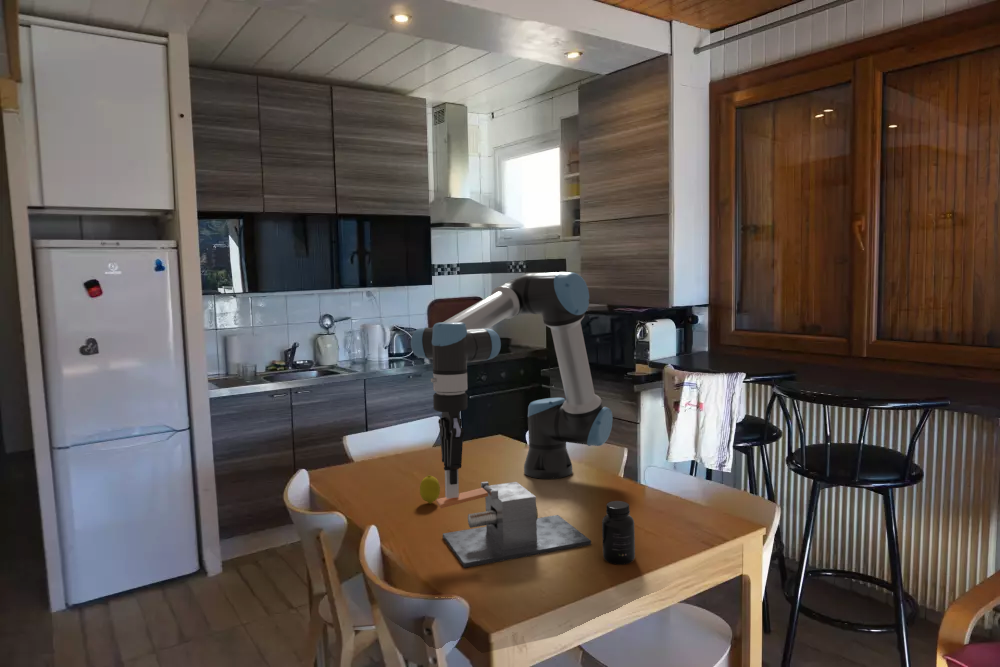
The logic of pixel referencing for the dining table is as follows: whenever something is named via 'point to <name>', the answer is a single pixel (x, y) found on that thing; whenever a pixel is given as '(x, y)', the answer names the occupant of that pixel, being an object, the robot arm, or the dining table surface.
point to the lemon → (429, 489)
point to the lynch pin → (485, 518)
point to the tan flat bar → (464, 497)
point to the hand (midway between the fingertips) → (452, 497)
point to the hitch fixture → (513, 530)
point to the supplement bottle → (618, 534)
